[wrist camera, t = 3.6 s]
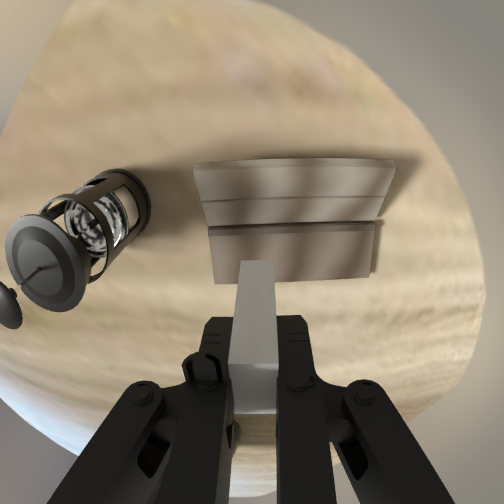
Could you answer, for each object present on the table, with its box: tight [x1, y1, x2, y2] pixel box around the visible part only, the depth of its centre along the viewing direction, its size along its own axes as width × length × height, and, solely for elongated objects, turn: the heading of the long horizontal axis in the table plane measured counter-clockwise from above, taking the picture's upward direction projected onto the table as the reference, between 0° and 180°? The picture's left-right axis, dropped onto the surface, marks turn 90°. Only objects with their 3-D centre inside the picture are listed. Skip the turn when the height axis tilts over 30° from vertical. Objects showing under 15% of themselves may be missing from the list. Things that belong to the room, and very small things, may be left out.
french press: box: [0, 169, 151, 329], centre depth 26 cm, size 12×9×23 cm
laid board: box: [208, 220, 376, 284], centre depth 38 cm, size 20×8×2 cm, turn 93°
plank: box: [193, 158, 397, 226], centre depth 32 cm, size 20×9×1 cm
